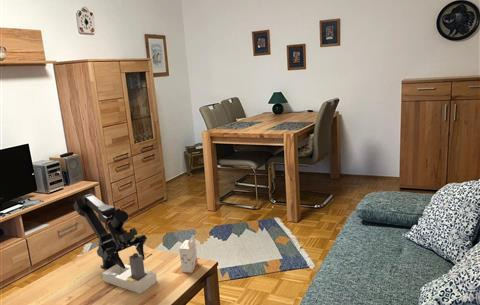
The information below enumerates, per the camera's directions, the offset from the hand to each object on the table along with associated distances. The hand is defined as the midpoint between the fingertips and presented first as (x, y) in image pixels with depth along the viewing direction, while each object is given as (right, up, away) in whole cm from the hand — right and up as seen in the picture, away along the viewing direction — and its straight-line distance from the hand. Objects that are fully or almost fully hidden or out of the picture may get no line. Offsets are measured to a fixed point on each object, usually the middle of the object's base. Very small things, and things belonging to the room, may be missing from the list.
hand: (134, 264), depth 165 cm
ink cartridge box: (+22, -5, +12) cm, 25 cm away
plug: (+2, -9, +1) cm, 9 cm away
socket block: (-3, -8, +4) cm, 10 cm away
